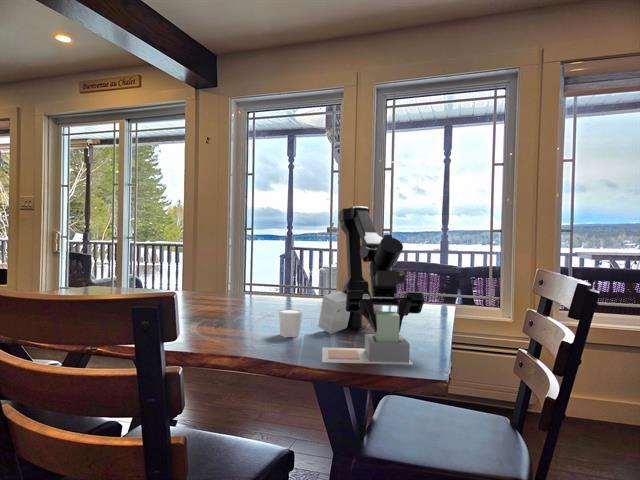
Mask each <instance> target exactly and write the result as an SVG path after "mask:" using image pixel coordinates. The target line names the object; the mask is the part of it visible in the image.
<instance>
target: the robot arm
mask: <svg viewBox="0 0 640 480" xmlns="http://www.w3.org/2000/svg"><path fill="white" fill-rule="evenodd" d="M338 221H339V222H340V228H341V230H342V231H343V233H344V234H345V240H346V241H345V242H346V243H345V244H346V262H347V266H346V268H347V280H346V281H345V283H344V285H343V286H342V287H343V289H342V292H343V293H345V294H346V311H347V312H350V315H349V320H348V325H347V328H345V329H346V330H354V331H361V330H363V329H366V328H367V325H364V324H363V320H364V319H363V318H365V320H366V321H368V323H369V325H370V327H371V328H372V330H373V333H374V332H377V323H376V318H375V308H374V306H382V307H397V310H396V311H395V312H396V313H397V314H398V315H399V316H400V319H399V334H400V332H401V328H402V324H403V319H404V317H405V316H406V317H407V316H408V315H409V314H420V313H421V312H422V310H423V307H424V303H425V296H424V293H422V291H406V293H405V296H404V297H397V296H396V295H397V293H398V287H397V286H398V285H404V284H405V282H406V273H405V270H404V269H396V270H392V268H393V267H395V266H396V264H397V262H398V260H399V258H400V256H401V254H402V251H403V249H404V245H403V242H401V241H400V240H398V239H397V238H395V237H393V235H392V234H383V236H380V235H379V234H378V232H377V230H376V228H375V226H374V222H373V220H372V218H371V216H370V208H369V207H367V206H364V205H363V206H360V205H359V206H357V205H354V206H352V207H343V208H342V209H341V210H339V212H338ZM363 262H364V263H370V264H369V266H368V267H369V277H370V280H369V281H370V284H369V282H368V281H367V280H365V278H364V276H363V265H362V263H363ZM369 285H370V288H371V292H370V289H369Z"/></svg>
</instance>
